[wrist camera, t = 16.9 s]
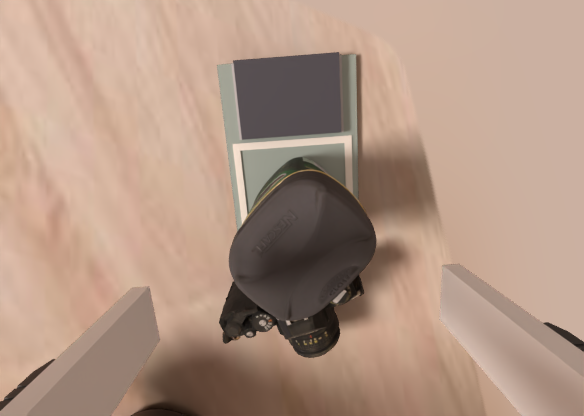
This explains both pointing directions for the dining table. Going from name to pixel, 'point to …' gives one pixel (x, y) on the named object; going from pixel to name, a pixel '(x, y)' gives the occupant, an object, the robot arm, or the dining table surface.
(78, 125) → the dining table surface
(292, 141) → the board
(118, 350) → the robot arm
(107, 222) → the dining table surface
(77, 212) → the dining table surface
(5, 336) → the dining table surface
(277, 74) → the pad
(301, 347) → the film camera
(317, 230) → the coffee jar
